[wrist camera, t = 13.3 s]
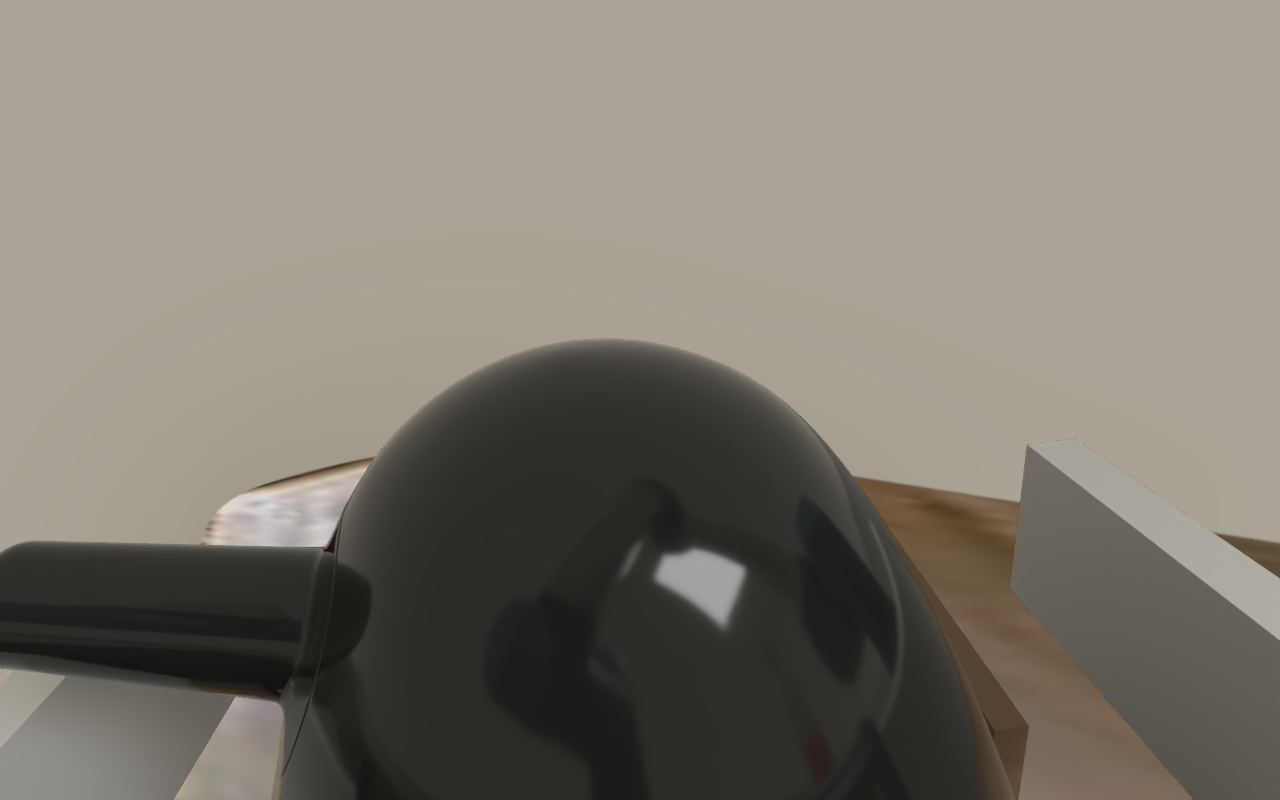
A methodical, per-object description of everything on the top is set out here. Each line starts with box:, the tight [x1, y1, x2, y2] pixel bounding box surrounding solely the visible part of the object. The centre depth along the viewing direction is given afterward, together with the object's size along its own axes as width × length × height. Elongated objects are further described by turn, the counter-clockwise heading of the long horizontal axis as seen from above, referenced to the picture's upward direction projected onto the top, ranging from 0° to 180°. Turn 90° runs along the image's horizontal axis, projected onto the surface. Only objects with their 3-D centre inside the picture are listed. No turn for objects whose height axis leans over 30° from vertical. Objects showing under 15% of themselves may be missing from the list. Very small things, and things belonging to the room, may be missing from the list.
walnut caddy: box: [891, 532, 1029, 800], centre depth 23 cm, size 14×13×4 cm
